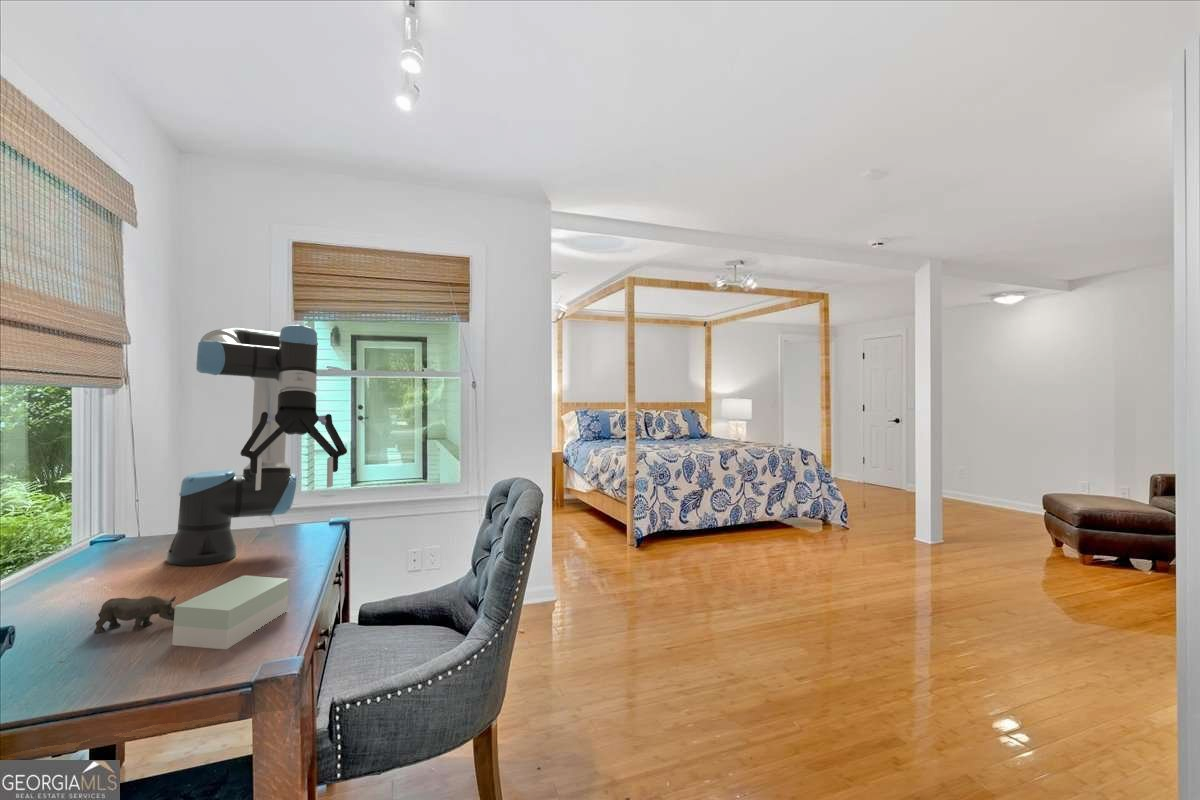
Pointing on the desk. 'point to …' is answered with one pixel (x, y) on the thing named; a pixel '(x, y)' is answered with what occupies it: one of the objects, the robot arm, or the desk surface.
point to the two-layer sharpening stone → (229, 612)
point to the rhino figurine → (134, 611)
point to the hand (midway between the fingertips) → (295, 488)
